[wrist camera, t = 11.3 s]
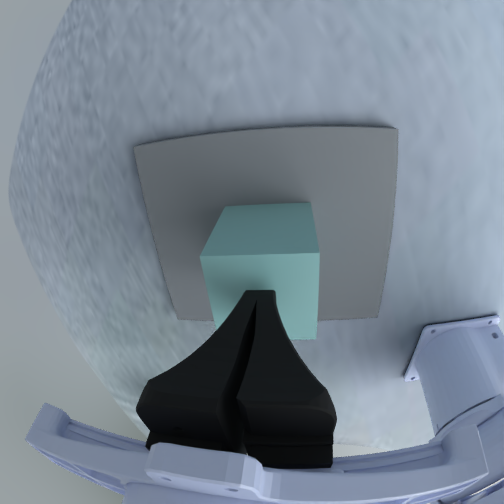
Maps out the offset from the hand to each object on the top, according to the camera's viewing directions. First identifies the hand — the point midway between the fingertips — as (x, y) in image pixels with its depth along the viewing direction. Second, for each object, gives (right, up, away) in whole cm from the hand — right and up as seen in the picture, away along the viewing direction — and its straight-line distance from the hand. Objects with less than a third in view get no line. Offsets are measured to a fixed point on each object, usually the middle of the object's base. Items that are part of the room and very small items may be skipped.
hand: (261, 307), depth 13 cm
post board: (+1, +4, +6) cm, 7 cm away
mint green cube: (+1, +3, +6) cm, 7 cm away
